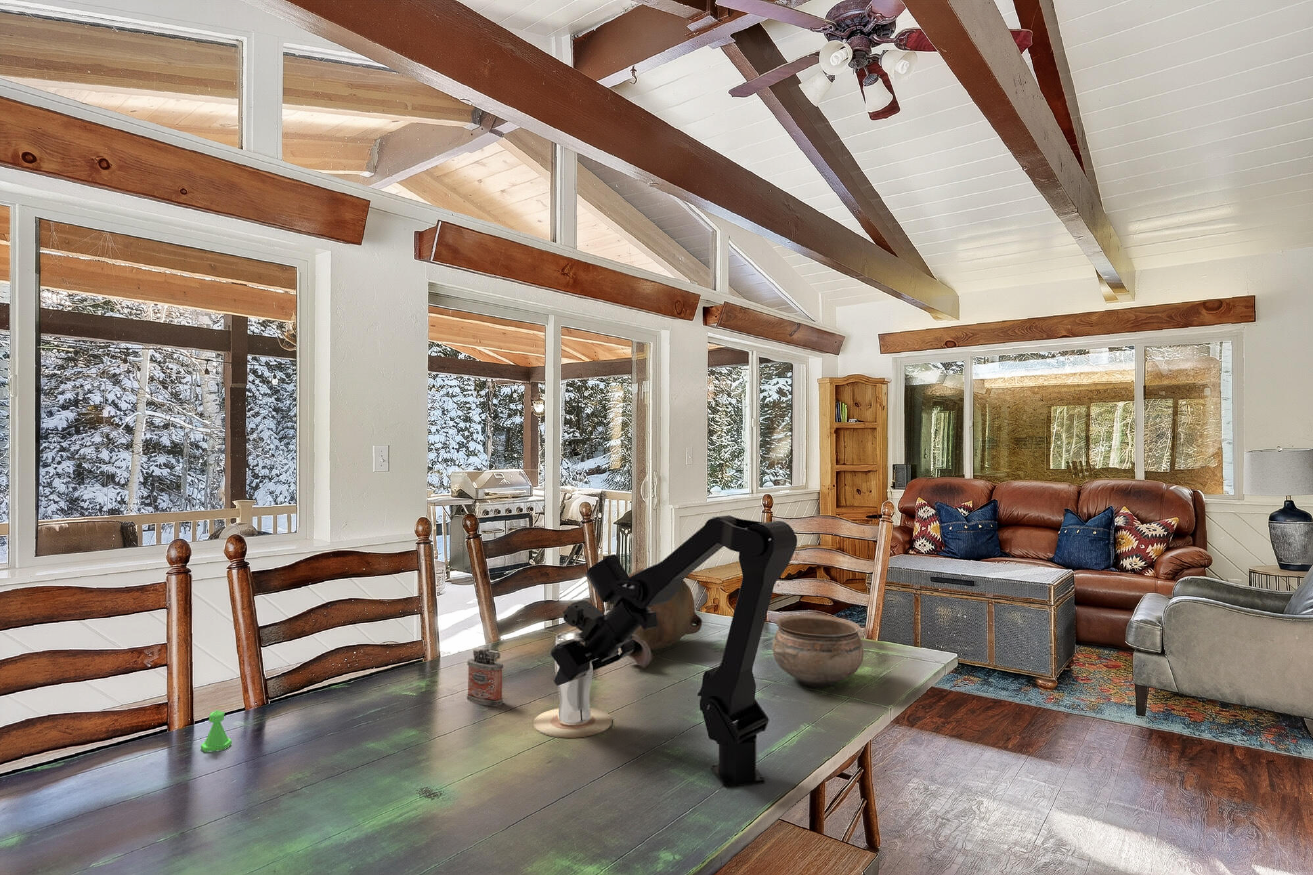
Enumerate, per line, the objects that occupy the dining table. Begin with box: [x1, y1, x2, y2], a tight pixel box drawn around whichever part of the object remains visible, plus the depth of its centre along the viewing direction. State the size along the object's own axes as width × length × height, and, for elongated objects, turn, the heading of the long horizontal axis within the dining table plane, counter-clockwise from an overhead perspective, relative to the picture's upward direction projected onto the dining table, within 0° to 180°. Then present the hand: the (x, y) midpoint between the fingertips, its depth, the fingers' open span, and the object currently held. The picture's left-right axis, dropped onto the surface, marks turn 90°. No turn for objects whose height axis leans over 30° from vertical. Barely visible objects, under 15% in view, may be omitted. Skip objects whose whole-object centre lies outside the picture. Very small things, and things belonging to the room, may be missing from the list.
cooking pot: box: [772, 614, 865, 688], centre depth 155 cm, size 25×19×12 cm
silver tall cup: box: [554, 630, 594, 726], centre depth 131 cm, size 7×7×15 cm
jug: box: [620, 567, 703, 669], centre depth 176 cm, size 20×20×30 cm
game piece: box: [200, 709, 233, 753], centre depth 119 cm, size 4×4×6 cm
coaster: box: [532, 707, 613, 739], centre depth 131 cm, size 14×14×1 cm
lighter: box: [466, 647, 504, 707], centre depth 141 cm, size 8×3×10 cm, turn 62°
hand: (568, 677), depth 131 cm, fingers closed on silver tall cup, 7 cm apart
